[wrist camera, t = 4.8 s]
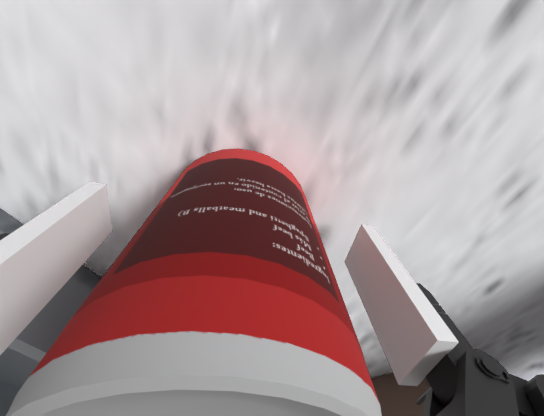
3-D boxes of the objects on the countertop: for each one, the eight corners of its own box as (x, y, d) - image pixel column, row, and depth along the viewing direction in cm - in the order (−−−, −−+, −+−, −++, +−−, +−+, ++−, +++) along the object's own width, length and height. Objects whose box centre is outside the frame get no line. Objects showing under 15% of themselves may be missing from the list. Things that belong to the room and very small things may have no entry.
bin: (194, 342, 21) (176, 415, 16) (73, 400, 24) (32, 471, 20) (-3, 206, 14) (-125, 270, 9) (-129, 317, 18) (-256, 399, 13)
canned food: (219, 275, 17) (168, 539, 7) (144, 179, 13) (-149, 461, 4) (323, 236, 16) (422, 495, 6) (273, 117, 12) (323, 308, 2)
